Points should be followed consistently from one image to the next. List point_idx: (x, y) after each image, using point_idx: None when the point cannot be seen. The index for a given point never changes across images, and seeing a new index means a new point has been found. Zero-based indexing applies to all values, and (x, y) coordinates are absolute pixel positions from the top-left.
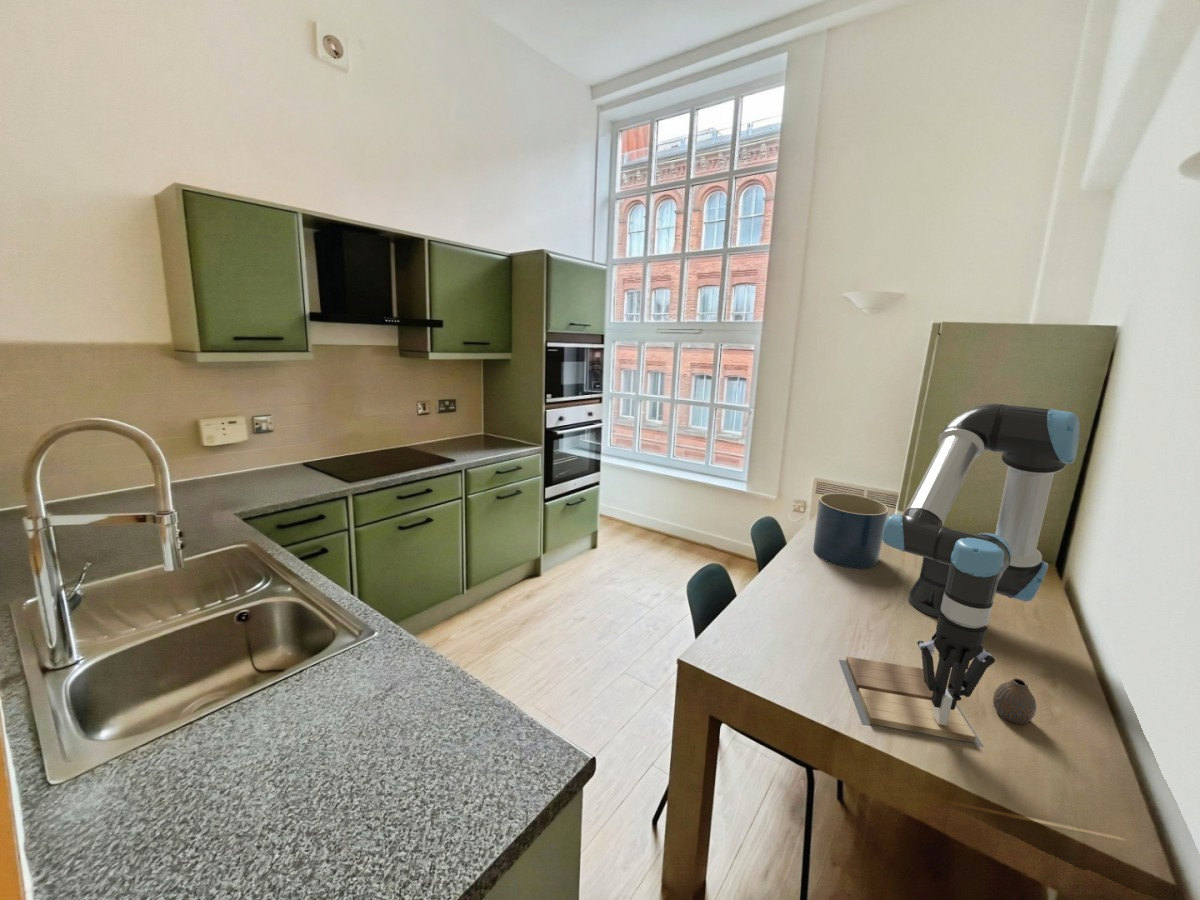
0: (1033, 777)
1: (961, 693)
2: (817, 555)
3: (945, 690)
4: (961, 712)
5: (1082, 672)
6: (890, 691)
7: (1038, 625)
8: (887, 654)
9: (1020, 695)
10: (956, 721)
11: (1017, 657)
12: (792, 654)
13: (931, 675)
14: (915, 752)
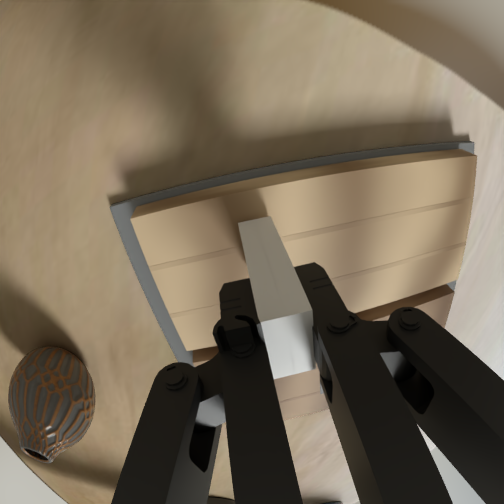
0: (2, 152)
1: (207, 376)
2: (341, 502)
3: (328, 349)
4: (166, 335)
5: (25, 454)
6: (374, 315)
7: (85, 495)
8: (312, 425)
9: (28, 419)
10: (191, 272)
11: (89, 468)
12: (500, 321)
13: (484, 395)
14: (353, 67)
